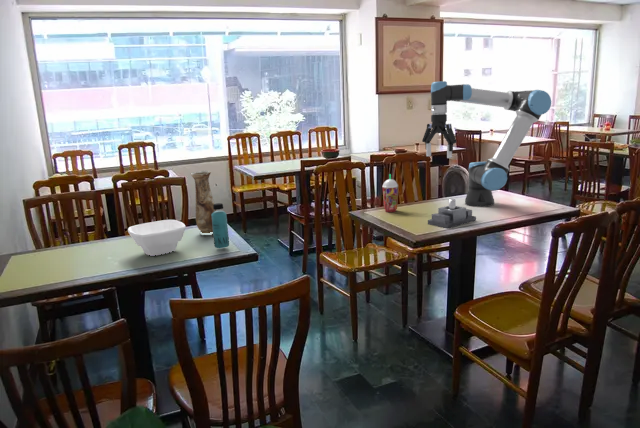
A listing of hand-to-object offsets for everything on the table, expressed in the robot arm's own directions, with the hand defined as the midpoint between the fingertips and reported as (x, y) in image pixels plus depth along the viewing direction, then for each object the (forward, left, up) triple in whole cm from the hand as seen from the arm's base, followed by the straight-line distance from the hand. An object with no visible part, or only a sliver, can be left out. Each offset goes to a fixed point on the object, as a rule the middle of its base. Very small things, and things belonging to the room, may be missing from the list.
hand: (438, 157), depth 248 cm
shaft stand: (+11, +18, -29) cm, 36 cm away
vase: (+105, -51, -29) cm, 120 cm away
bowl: (+133, -36, -29) cm, 141 cm away
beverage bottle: (+111, -21, -29) cm, 117 cm away
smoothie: (+14, -21, -29) cm, 38 cm away
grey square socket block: (+11, +18, -27) cm, 34 cm away
